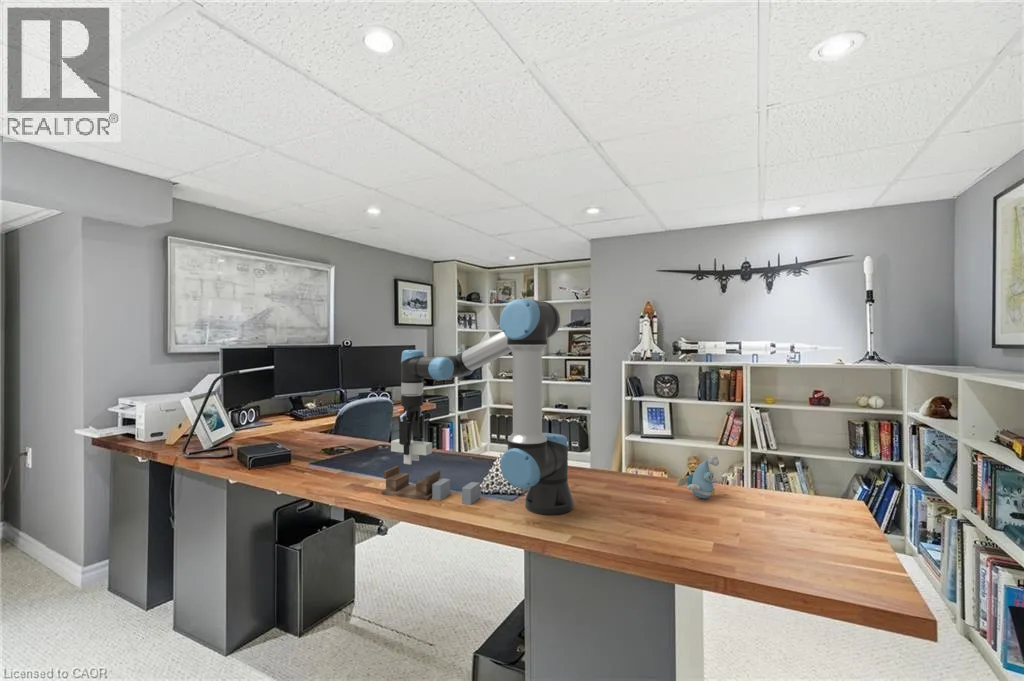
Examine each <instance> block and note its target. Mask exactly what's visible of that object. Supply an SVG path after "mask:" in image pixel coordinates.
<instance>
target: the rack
mask: <svg viewBox="0 0 1024 681" xmlns="http://www.w3.org/2000/svg"><path fill="white" fill-rule="evenodd" d="M440 478H441V470H436V471H435V472H433V473H431V474H429V475H427V476H426V477H424V478H423V479H419V481H416V482H415V484H411V483H410V474H409V473H407V472H400V465H396V466H394V467H391V468H389V469H387V470H384V471H383V479H384V480H385V489H383V490H381V494H382V495H387V496H395V497H400V498H402V497H403V498H407V499H415V500H421V501H422V500H423V501H429V500H430V499H432V484H434V483H435V482H437V481H439V480H440Z"/></svg>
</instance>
